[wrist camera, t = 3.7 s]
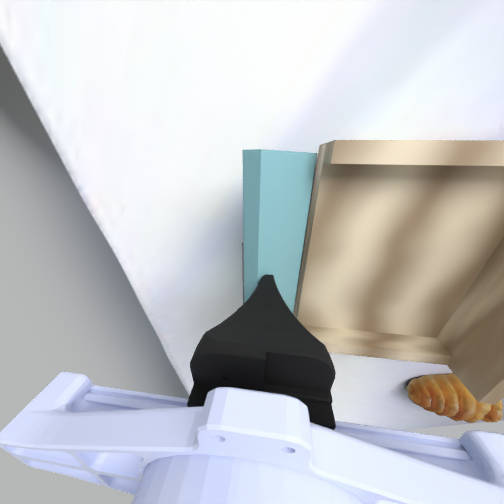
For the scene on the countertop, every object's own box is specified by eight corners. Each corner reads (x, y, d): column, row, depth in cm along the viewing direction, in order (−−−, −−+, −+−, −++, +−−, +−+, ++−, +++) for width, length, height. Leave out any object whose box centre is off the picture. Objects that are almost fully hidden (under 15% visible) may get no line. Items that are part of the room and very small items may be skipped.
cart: (524, 147, 14) (807, 133, 6) (421, 322, 22) (495, 404, 14) (316, 146, 15) (355, 133, 8) (292, 311, 23) (300, 380, 16)
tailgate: (316, 153, 13) (261, 149, 9) (291, 328, 20) (254, 369, 16) (293, 153, 14) (234, 150, 10) (277, 319, 21) (240, 356, 17)
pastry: (397, 394, 29) (413, 426, 25) (409, 367, 26) (430, 398, 22) (466, 399, 27) (494, 433, 24) (487, 371, 25) (522, 405, 21)
